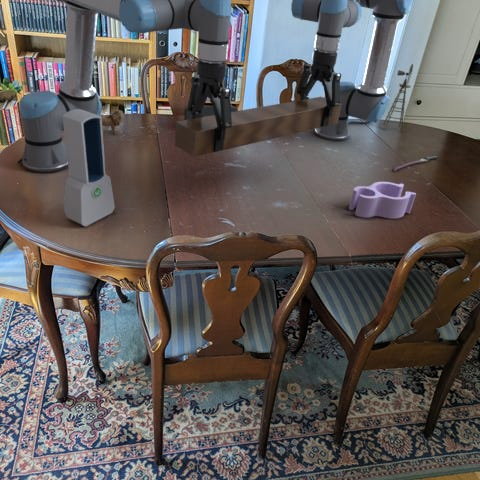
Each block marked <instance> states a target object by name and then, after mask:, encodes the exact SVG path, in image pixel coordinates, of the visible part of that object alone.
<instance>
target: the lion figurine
mask: <svg viewBox="0 0 480 480" xmlns="http://www.w3.org/2000/svg"><path fill="white" fill-rule="evenodd" d="M124 119H125V116H124V111H122V110H121V109H117V110H115V111H114V112H112V113H110V114H109V115H108V116H102V127H110V131H111V133H112V134H113V135H117V132H116V127H118V126H120V125H121V124H122V123H123V121H124Z"/></svg>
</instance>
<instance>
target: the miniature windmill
mask: <svg viewBox="0 0 480 480" xmlns="http://www.w3.org/2000/svg"><path fill="white" fill-rule="evenodd" d="M413 68H414V64H413V63H411V65H410V67H409V70H408V72H405V71H403V70H398V71H397V74H396V76H405V79H404V80H403V83H399V85H398V86H399V90H398V92H397V95H396V97H395V98H394V101H393V103H392V105H391V107H390V108H389V111H388V113H387V115H386V116H385V120H384V121H383V125H385V126H384V130H386V129H387V127H388V125H389V123H392V124H393V123H394V124H399V125H398V126H399V127H400V132H402V131H403V125H404V113H405V105H406V104H405V103H406V94H407V89H408V88H409V89H410V88H411V85H409V83H410V80H411V77H412V74H413ZM403 89H404V90H403ZM401 94H403V97H402V98H400V96H401ZM397 103H402V104H401V107H396V105H397ZM395 109H397V110H395ZM394 112H397V113H400V117H393V113H394ZM391 119H395V120H399V122H397V121H392V120H391ZM401 129H402V130H401Z"/></svg>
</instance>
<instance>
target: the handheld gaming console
mask: <svg viewBox="0 0 480 480" xmlns="http://www.w3.org/2000/svg"><path fill="white" fill-rule="evenodd" d="M187 108H188V106H185V108H184V114H183V115H184V117H183V120H188V119H192V114H191V112H190V111H188V109H187ZM235 111H239V110H238V107H236V106H235V105H231V112H235ZM201 112H202V113H203V114H199V115H202V116H203V117H206V116H212V115H215V113H214V109H213V105H204V107H203V109H202V111H201Z"/></svg>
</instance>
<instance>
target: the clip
mask: <svg viewBox="0 0 480 480" xmlns="http://www.w3.org/2000/svg"><path fill="white" fill-rule="evenodd" d="M404 187H405V184H404V183H399V184H398V183H395V182H389V181H376V182H373V183H372V184H371V185H368V186H367V185H365V186H364V185H358V186H356V187H354V188H353V190H352V195H351V199H350V203H349V207H348V210H350V211H353V210H354V209H355V208H356V209H355V211H354V216H356V217H359V218H363V219H364V218H365V219H366V218H368V219H369V218H373V217H381V218H385V219H393V220H394V219H400V218H402V217H404V215H405V214H411V210H412V208H413V205H414V201H415V198H416V195H417V193H416V192H413V191H405V193H404V196H402V193H403V190H404Z"/></svg>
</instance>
